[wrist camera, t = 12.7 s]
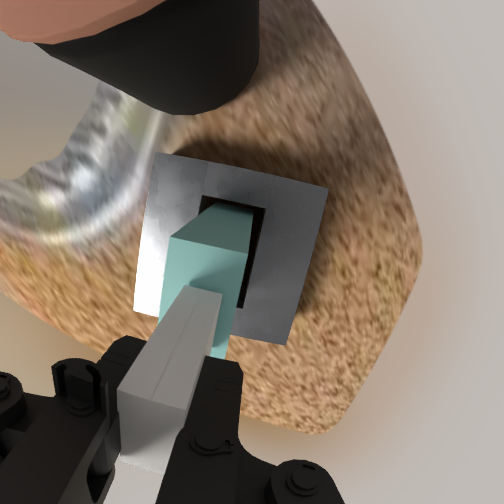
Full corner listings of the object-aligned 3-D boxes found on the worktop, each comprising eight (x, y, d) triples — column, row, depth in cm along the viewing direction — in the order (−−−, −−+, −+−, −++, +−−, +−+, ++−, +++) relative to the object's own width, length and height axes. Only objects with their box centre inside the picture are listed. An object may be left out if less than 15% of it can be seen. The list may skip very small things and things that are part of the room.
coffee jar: (284, 38, 22) (314, -123, 4) (213, 141, 24) (114, 81, 7) (179, -8, 21) (105, -142, 3) (111, 87, 23) (-44, 20, 6)
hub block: (149, 292, 27) (133, 310, 24) (171, 154, 24) (155, 151, 21) (282, 322, 28) (285, 345, 24) (318, 186, 25) (329, 188, 21)
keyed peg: (216, 201, 25) (169, 236, 12) (253, 209, 25) (248, 254, 12) (203, 272, 27) (153, 366, 13) (238, 279, 27) (219, 382, 13)
